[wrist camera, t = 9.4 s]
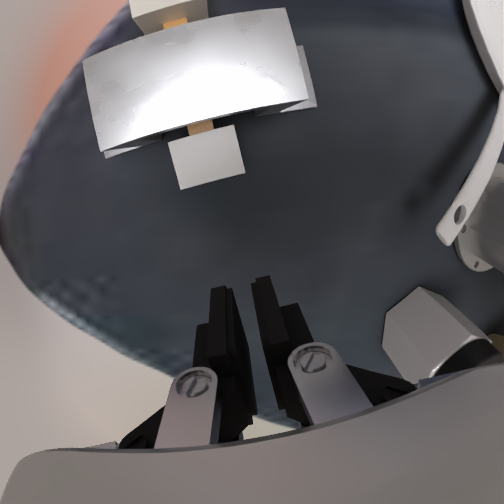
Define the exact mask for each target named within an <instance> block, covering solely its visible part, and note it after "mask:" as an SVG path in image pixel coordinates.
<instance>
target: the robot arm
mask: <svg viewBox="0 0 504 504" xmlns="http://www.w3.org/2000/svg"><path fill="white" fill-rule="evenodd" d="M461 215H462V206H459V207H458V208H457V209H456V211H455V215H454V222H455V223H456V222H458V221H459V219H460V218H461ZM454 244H455V249H456V252H457V255H458V257H459V259H460V260H461V261H462V263H463V264H464V265H466V266H467V267H468V268H470V269H471V270H473V271H477V272H482V271H487V270H489V269H491V268H493V267H494V268H496V269H497V270H499V271H500V272H502V273H503V274H504V164H503V163H500V162H497V163H496V165H495V168H494V170H493V173H492V175H491V177H490V179H489V181H488V183H487V185H486V187H485V189H484V191H483V193H482V195H481V197H480V198H479V200H478V202H477V204H476V206H475V207H474V209H473V211H472V212H471V214H470V216H469V218H468V219H467V220H466V222H465V223H464V225H463V227H462V228H461V230H460V232H459V233H458V235H457V236H456V238H455V239H454ZM251 288H252V293H253V299H254V304H255V309H256V315H257V320H258V326H259V331H260V336H261V341H262V346H263V351H264V355H265V358H266V362H267V366H268V370H269V374H270V378H271V381H272V385H273V389H274V393H275V396H276V400H277V404H278V408H279V410H282V409H285V410H286V414H287V417H289V418H292V419H294V420H296V421H299V422H300V427H301V428H300V429H296V430H292V431H288V432H283V433H278V434H274V435H269V436H263V437H258V438H252V439H246V440H243V433H242V431H243V430H244V429H245V428H246V427H247V426H248V425H252V424H253V419H252V416H253V415H257V405H256V398H255V391H254V383H253V376H252V368H251V361H250V353H249V347H248V343H247V339H246V336H245V332H244V329H243V325H242V322H241V318H240V315H239V311H238V308H237V304H236V301H235V297H234V294H233V290H232V288H229V289H227V288H226V286H220V287H216V288H211V297H210V313H209V323H205V324H200V325H198V326H197V330H196V339H195V349H194V358H193V368H190V369H187V370H185V371H183V372H182V373H180V374H179V375H178V376H177V377H176V378H175V379H174V380H173V382H172V385H171V388H170V391H169V395H168V398H167V402H166V405H165V406H164V407H162V408H161V409H160V410H159V411H157V412H156V413H155V414H153V415H152V416H151V417H150V418H148V419H147V420H146V421H144V422H143V423H142V424H140V425H139V426H138V427H137V428H135V429H134V430H133V431H131V432H130V433H129V434H127V435H126V436H125V437H124V438H123V439H122V441H121V442H120V444H118V443H117V442H115V441H114V442H109V443H105V444H100V445H96V446H91V447H86V448H58V449H50V450H44V451H40V452H36V453H33V454H31V455H28V456H26V457H24V458H23V459H22V460H20V461H19V462H18V464H17V465H16V467H15V469H14V470H13V472H12V474H11V476H10V478H9V480H8V482H7V485H6V487H5V490H4V492H3V495H2V498H1V501H0V504H504V363H495V364H489V365H483V366H479V367H475V368H472V369H466V370H462V371H458V372H454V373H449V374H445V375H440V376H435V377H430V378H425V379H419V382H418V383H416V384H412V383H411V382H409V381H407V380H404V379H400V378H396V377H392V376H388V375H384V374H380V373H376V372H372V371H368V370H365V369H361V368H357V367H354V366H350V365H346V364H345V363H344V362H343V360H342V359H341V357H340V356H339V354H338V353H337V351H336V350H335V349H334V348H333V347H332V346H330V345H328V344H325V343H320V342H314V340H313V338H312V336H311V333H310V331H309V328H308V326H307V324H306V321H305V319H304V317H303V314H302V312H301V310H300V307H299V305H298V303H295V304H290V305H286V306H282V307H279V304H278V301H277V297H276V294H275V291H274V288H273V285H272V282H271V279H270V276H269V275H268V276H264V277H260V278H256V282H255V283H251Z"/></svg>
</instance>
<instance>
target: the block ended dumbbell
mask: <svg viewBox="0 0 504 504" xmlns="http://www.w3.org/2000/svg"><path fill="white" fill-rule="evenodd" d="M129 3H130V8H131V14H132V19H133V20H134V21H135V22H136V24H137V25H138V26H139V28H140V29H141V30H142V31H143V33H144V34H145V35H148V34H151V33H154V32H157V31H161V30H164V29H167V28H171V27H175V26H178V25H182V24H186V23H190V22H194V21H199V20H203V19H208V18H209V17H208V7H207V0H129ZM187 128H188V132H189V136H188V137H185V138H181V139H178V140H175V141H171V142H168V145H169V149H170V153H171V156H172V160H173V164H174V167H175V171H176V175H177V178H178V182H179V185H180V189H181V190H182V189H186V188H189V187H193V186H196V185H200V184H204V183H207V182H211V181H215V180H219V179H222V178H226V177H230V176H234V175H238V174H242V173H245V169H244V165H243V161H242V157H241V153H240V148H239V144H238V140H237V136H236V132H235V128H234V125H230V126H226V127H222V128H218V129H214V126H213V122H212V120H208V121H204V122H200V123H196V124H192V125H188V126H187Z"/></svg>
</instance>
